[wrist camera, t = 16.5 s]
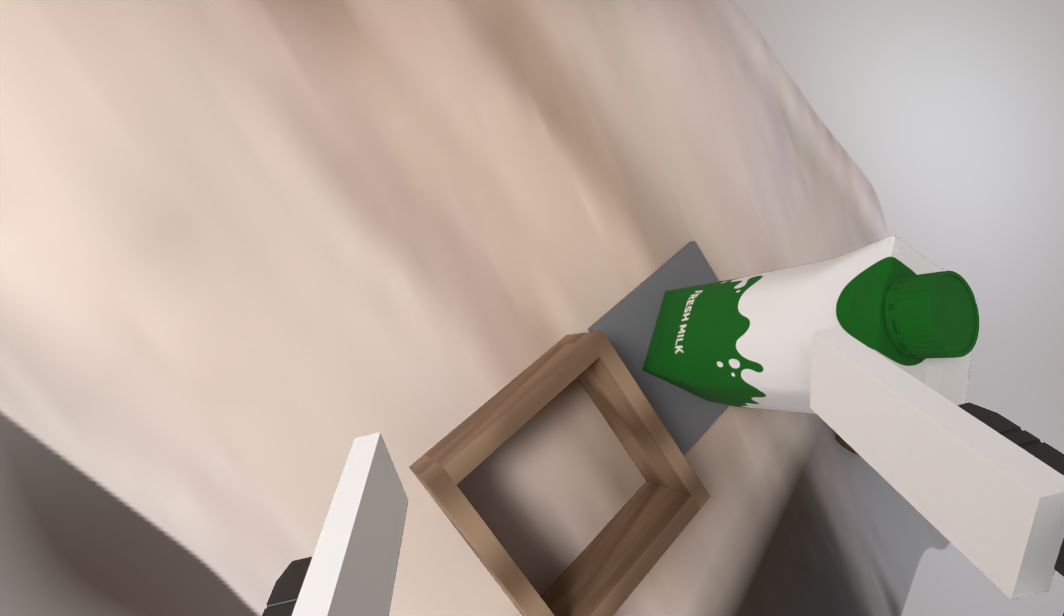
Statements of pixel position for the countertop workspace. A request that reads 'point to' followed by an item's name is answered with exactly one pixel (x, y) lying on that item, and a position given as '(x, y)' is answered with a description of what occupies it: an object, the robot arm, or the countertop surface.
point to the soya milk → (816, 327)
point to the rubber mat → (633, 334)
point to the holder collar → (638, 528)
